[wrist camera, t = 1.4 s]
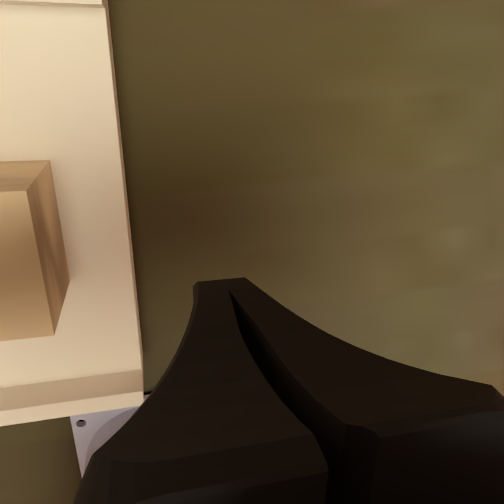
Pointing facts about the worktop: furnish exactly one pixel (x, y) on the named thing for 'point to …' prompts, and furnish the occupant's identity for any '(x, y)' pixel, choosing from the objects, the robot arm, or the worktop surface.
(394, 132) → the worktop surface
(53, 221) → the maple block
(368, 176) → the worktop surface
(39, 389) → the trap box
